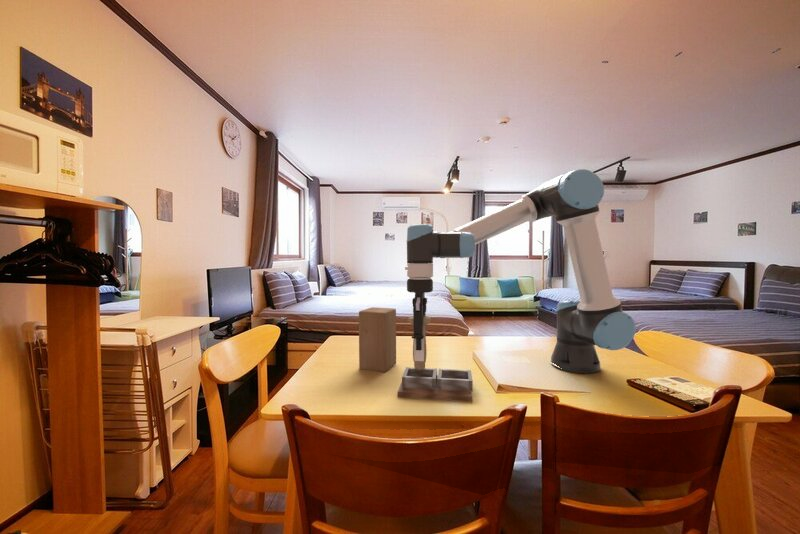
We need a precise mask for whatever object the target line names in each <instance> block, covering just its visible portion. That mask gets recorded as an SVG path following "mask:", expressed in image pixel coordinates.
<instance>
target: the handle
mask: <svg viewBox="0 0 800 534" xmlns="http://www.w3.org/2000/svg"><path fill="white" fill-rule="evenodd" d="M431 321H432V317H430V316H425V317H424V319H423V336H424V361H414V338H412V339H413V341H412V342H413V343H412V359H413V368H415V369H417V370H422V369H425V368H426V362H427V354H428V353H427V352H428V351H427V350H428V349H427V334H426V332H425V331H426V330H425V327H426V326H427V325H428V324H430V323H431ZM408 323H410V324H412V325H413V326H414V322H413V316H408ZM426 328H427V327H426Z"/></svg>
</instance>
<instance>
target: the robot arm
mask: <svg viewBox="0 0 800 534" xmlns="http://www.w3.org/2000/svg"><path fill="white" fill-rule="evenodd" d="M604 194H605V188H604V183H603V181H602V179H601V178H600V176H598V175H597V174H596V173H595V172H593V171H591V170H589V169H585V168H579V169H574V170H571V171H567V172H564V173H563V174H560V175H559V176H557V177H555V178H552V179H550V180H548V181H547V180H546V182H544V183H542V184H541V185H539V186H538V187H536V188H535V189H533V190H531V191H529V192H528V193H525V194H522V195H521V196H520V197H519V199H518V200H517V201H514V202H512V203H510V204H508V205H506V206H503V207H502V208H499V209H497V210H494V211H493V212H491V213H490V212H489V213H488V214H486V215H483V216H481V217H479V218H477V219H474V220H472V221H470V222H468V223H466V224H464V225H461V226H459V227H456V228H454V229H453V230H450V231H442V232H441V231H440V232H439V231H434V227H433V225H431V224H425V223H420V224H419V223H418V224H417V223H416V224H410V225H409V226H408V227H407V231H406V232H407V233H406V234H407V235H406V263H407V264H406V266H405V267H404V269H405V271H406V277H407V278H408V279H406V291H407V292H409V293H414V297H413V298H412V299H411V300H412V302H411V303H412V314H413V322H414V325H413V335H412V336H411V339H414V361H424V336H423V319H424V317H425V316H426V313H427V304H428V297H425V296H426V295H425V293H432V292H433V291H434V290H433V289H434V281H433V279H432V278H433V277H434V258H436V259H437V258H439V259H446V258H449V259H455V258H456V259H458V258H459V259H464V258H465V259H466V258H468V259H469V258H471V257H473V255H474V253H475V250H476V249H475V248H476V245H478V244H480V243H483V242H485V241H486V240H489V239H491V238H494V237H495V236H498V235H500V234H503V233H504V232H507V231H509V230H511V229H513V228H515V227H518V226H520V225H522V224H525V223H528V222H530V223H534V222H536V221H538V220H542V219H546V218H550V217H555V220H556V221H555V222H556V223H557V224H559V225H561V226H562V227H563V231H564V234H565V238H566V239H565V240H566V242H567V248H568V251H569V256H570V261H571V264H572V268H573V273H574V277H575V281H576V286H577V290H578V293H579V298H580V300H561V301H559V302H557V305H556V343H555V345H554V349H553V351H552V353H551V357H550V363H551V362H552V363H554V364H556V365H557V366H559V367H560V368H562V369H563V370H562V371H565V372H570V373H576V374H595V373H599V372H600V371H601V361H600V359H599V355H598V353H597V350H596V349H597V348H596V347H595V346H597V347H598V348H600V349H603V350H604V349H605V350H609V351H619V350H621V349H624V348H626V347H628V346H629V345H630V343H631V342H632V340H633V339H634V337H635V335H636V330H637V329H636V328H637V326H636V322H635V320H634V318H632V316H631V315H629V314H628V313H626V312H624V311H623V307H622V302H621V300H620V299H618V298H616V297H615V296H614V293H613V290H612V285H611V282H610V277H609V272H608V269H607V265H606V260H605V257H604V255H605V254H604V251H603V246H602V242H601V238H600V235H599V231H598V229H599V228H598V226H597V222H596V221H597V220H596V218H597V216H598V215H599V213H600V212H601V211H600V208H599V204H600V203H601V201H602V198H603V197H604ZM426 329H427V327H425V332H426V335H428V330H426ZM414 361H413V362H414Z"/></svg>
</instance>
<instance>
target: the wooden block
mask: <svg viewBox="0 0 800 534" xmlns="http://www.w3.org/2000/svg"><path fill="white" fill-rule="evenodd" d="M358 355H359V356H358V358H359V361H358V362H359V363H358V369H360V370H365V371H366V370H367V371H374V372H380V373H386V372H387V371H389V370H390V369H391V368H392V367H393V366H394V365H396V364H397V309H396V308H391V307H389V308H388V307H369V308H365V309H362V310H359V312H358Z"/></svg>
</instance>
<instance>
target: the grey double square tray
mask: <svg viewBox="0 0 800 534" xmlns="http://www.w3.org/2000/svg"><path fill="white" fill-rule="evenodd" d="M472 375H473V374H472V371H471V369H469V370H468V369H453V368H452V369H448V368H434V367H433V368H431V367H430V368H429V367H425V369H422V370H417V369H415V368H414V366H413V367H412V366H410V367H408V366H406V367H405V369H404V371H403V373H402V376H401V382H400V385H399V387H398V390H397V397H398V398H410V399H411V398H413V399H423V400H424V399H426V400H427V399H429V400H441V401H455V402H457V401H459V402H471V403H473V392H474V391H473V390H474V389H473V388H474V387H473V386H474V385H473V376H472Z"/></svg>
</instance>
